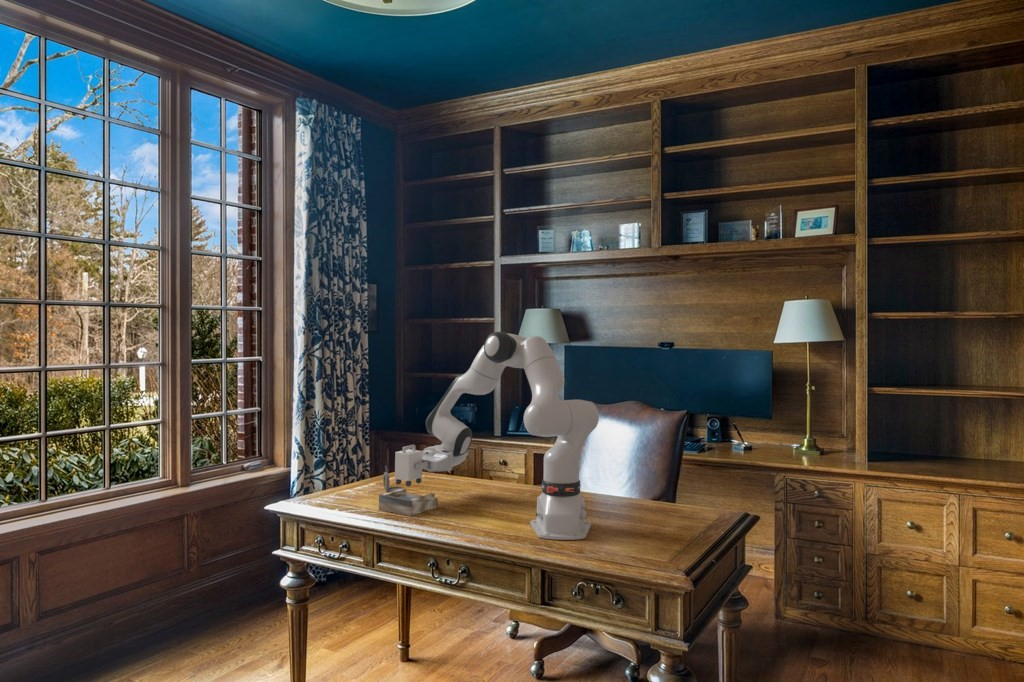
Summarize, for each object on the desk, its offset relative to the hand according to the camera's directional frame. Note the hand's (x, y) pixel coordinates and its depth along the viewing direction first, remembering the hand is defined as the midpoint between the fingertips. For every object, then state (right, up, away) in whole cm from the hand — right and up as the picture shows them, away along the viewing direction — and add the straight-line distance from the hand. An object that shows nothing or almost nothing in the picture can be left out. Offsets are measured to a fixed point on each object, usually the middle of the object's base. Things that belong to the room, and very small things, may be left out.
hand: (407, 465), depth 231 cm
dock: (0, -15, +1) cm, 15 cm away
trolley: (0, -6, +1) cm, 7 cm away
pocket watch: (-9, -15, +25) cm, 31 cm away
